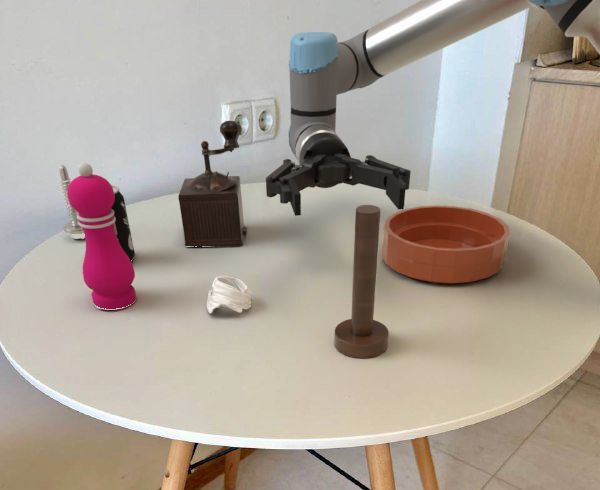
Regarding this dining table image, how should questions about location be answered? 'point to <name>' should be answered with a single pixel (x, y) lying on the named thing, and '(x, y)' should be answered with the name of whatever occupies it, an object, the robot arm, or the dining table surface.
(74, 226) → the screw
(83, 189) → the pepper mill
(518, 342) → the dining table surface
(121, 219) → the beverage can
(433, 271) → the bowl
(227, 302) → the white turban
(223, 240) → the manual coffee grinder
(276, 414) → the dining table surface
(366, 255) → the brown peg stand
